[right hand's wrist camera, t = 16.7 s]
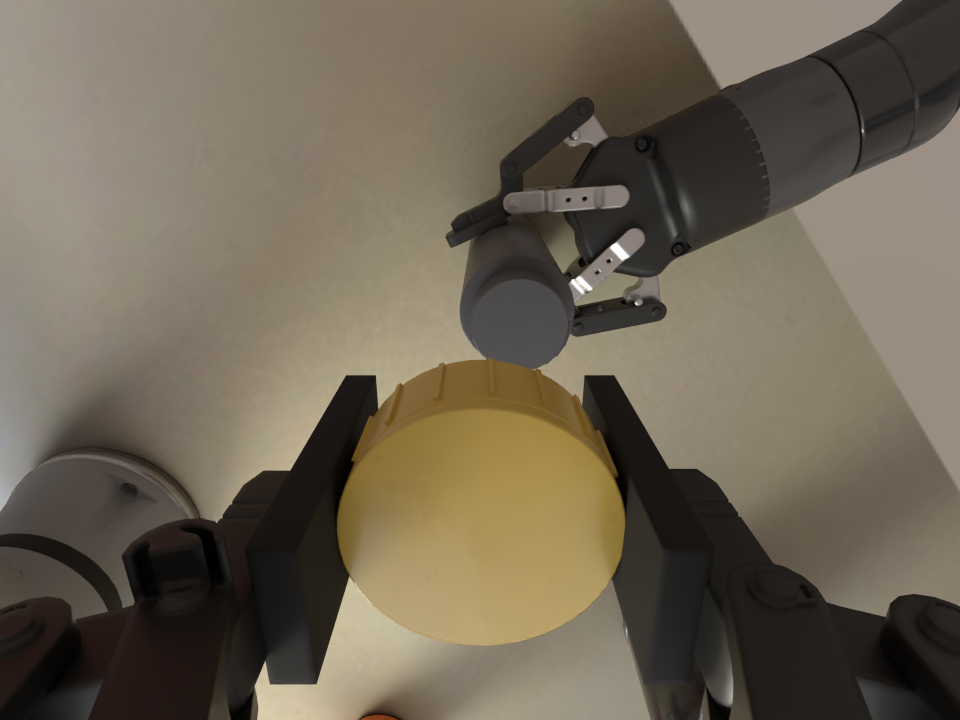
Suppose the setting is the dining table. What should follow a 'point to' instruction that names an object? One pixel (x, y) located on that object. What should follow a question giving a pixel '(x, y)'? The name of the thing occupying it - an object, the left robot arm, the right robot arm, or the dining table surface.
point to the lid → (481, 506)
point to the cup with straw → (378, 717)
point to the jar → (515, 296)
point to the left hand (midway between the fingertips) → (470, 282)
